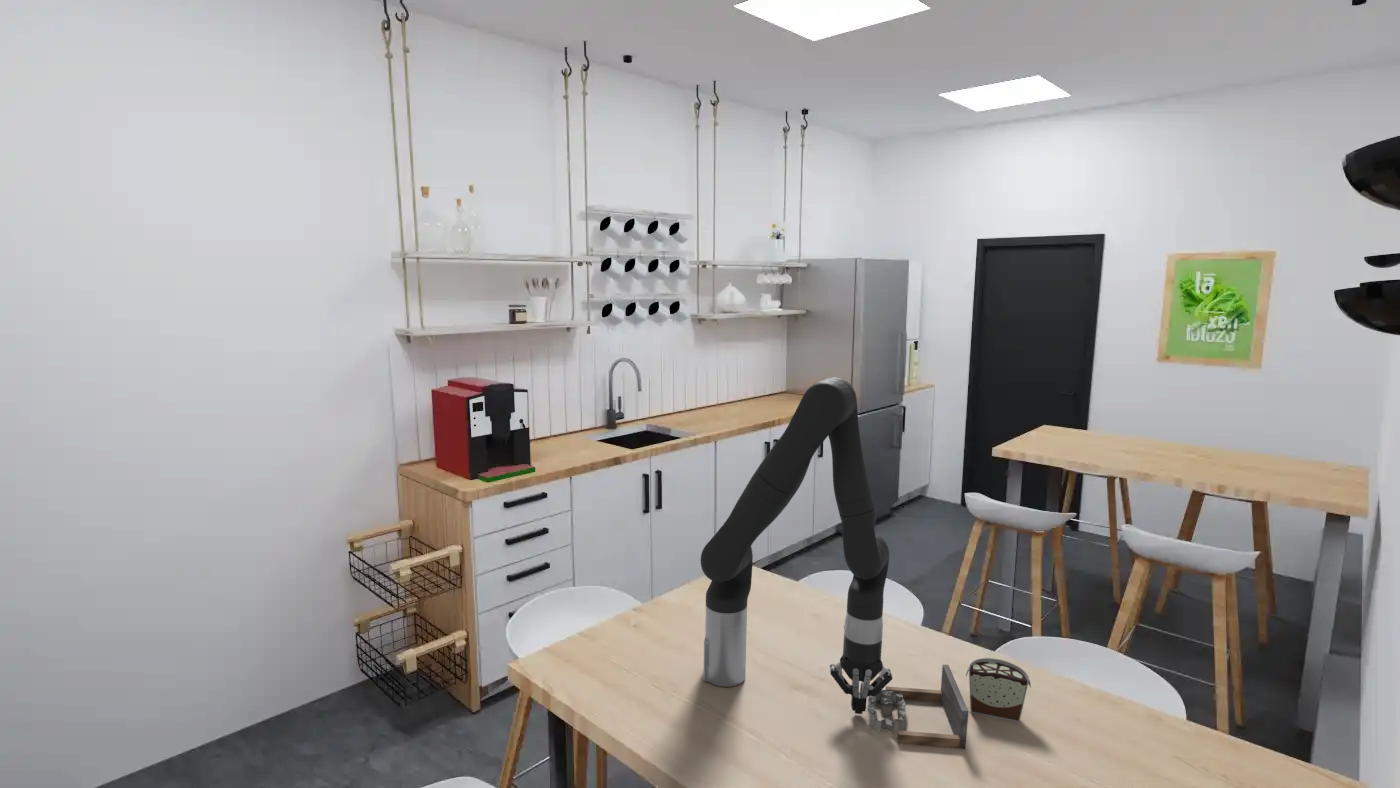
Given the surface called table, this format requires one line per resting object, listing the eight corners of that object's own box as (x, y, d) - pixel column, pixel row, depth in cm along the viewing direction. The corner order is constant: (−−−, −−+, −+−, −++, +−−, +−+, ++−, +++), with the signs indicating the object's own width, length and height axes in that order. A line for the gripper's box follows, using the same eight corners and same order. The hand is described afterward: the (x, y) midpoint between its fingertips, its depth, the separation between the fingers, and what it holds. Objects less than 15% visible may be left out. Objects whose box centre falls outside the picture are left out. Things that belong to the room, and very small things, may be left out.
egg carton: (904, 737, 140) (905, 718, 140) (865, 730, 142) (866, 711, 142) (905, 706, 150) (906, 688, 150) (868, 699, 152) (869, 682, 152)
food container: (1024, 706, 150) (1028, 663, 149) (1027, 723, 144) (1031, 678, 143) (962, 695, 154) (965, 652, 152) (962, 711, 148) (966, 666, 147)
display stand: (897, 743, 138) (900, 705, 136) (885, 694, 154) (887, 660, 152) (965, 749, 136) (968, 711, 135) (945, 699, 152) (948, 664, 151)
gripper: (831, 640, 140) (826, 719, 143) (899, 645, 139) (893, 725, 142) (828, 622, 148) (824, 698, 151) (893, 626, 146) (888, 703, 149)
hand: (858, 711), depth 146 cm, fingers closed
